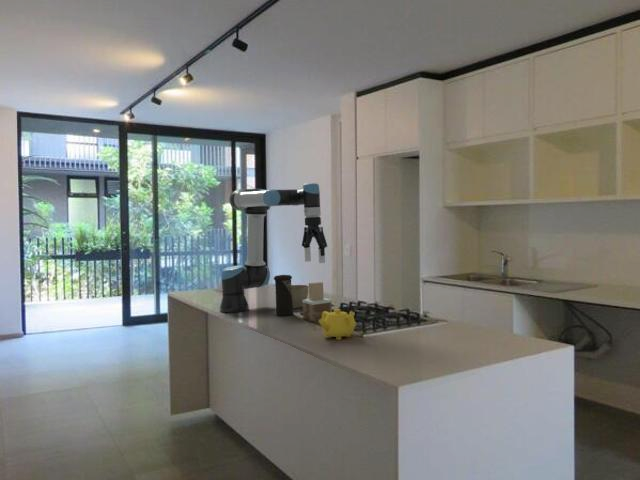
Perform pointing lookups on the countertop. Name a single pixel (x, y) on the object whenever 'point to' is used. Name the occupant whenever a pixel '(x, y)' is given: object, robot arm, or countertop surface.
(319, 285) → the beige block on base
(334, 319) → the yellow rounded knobbed block
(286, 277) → the container
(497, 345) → the countertop surface
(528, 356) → the countertop surface
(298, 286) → the planter bowl
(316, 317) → the crate
